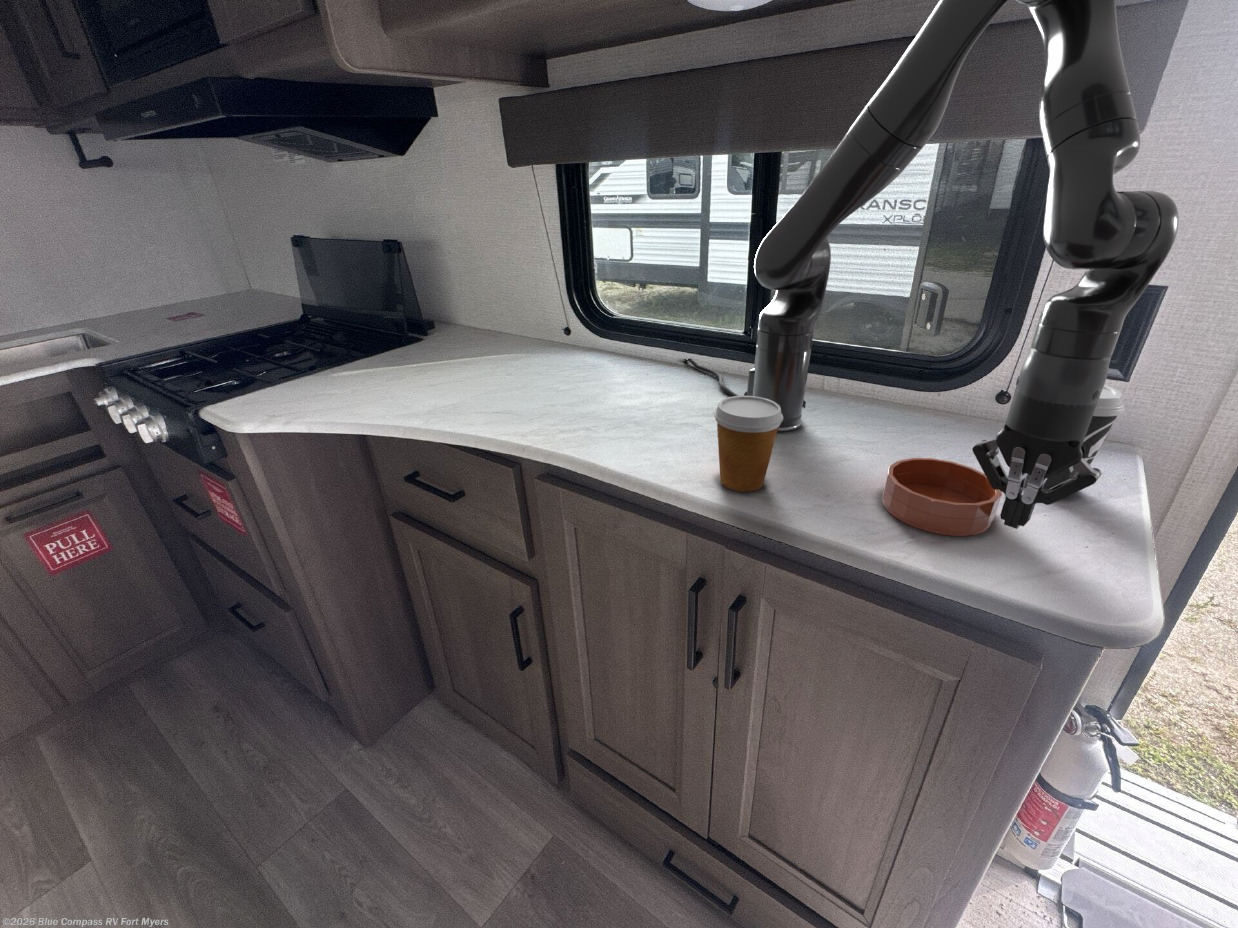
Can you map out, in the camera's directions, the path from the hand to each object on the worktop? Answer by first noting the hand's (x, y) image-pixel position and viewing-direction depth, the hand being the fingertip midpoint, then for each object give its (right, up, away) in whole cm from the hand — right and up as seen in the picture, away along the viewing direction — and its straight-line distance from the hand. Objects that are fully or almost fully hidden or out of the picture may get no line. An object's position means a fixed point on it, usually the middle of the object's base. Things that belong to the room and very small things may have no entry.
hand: (1012, 524), depth 70 cm
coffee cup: (+13, +4, +12) cm, 18 cm away
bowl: (-6, +1, +7) cm, 9 cm away
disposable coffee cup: (-31, +5, +14) cm, 34 cm away
